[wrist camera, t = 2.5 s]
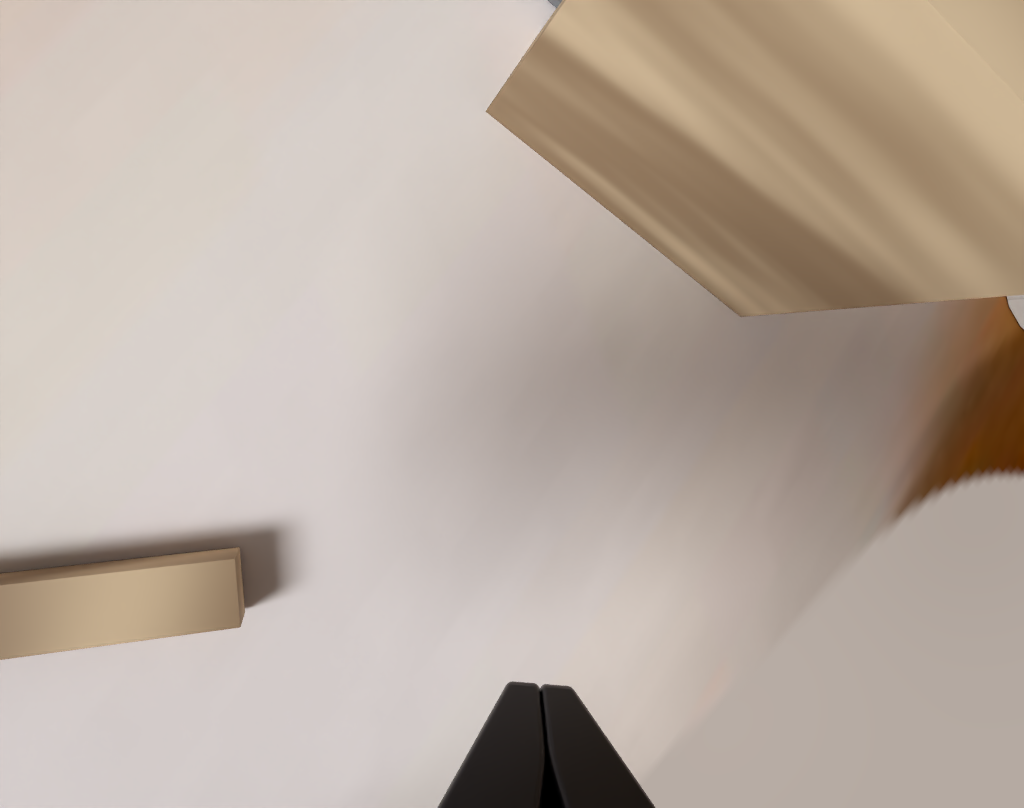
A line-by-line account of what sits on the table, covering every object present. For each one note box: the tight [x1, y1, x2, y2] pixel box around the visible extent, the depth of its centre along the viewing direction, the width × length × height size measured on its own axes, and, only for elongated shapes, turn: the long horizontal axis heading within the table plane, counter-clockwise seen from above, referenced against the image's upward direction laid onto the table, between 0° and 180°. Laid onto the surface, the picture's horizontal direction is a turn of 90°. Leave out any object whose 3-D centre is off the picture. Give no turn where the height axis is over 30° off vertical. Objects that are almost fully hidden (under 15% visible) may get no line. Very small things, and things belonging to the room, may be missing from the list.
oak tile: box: [486, 0, 1024, 317], centre depth 14 cm, size 3×9×11 cm, turn 55°
